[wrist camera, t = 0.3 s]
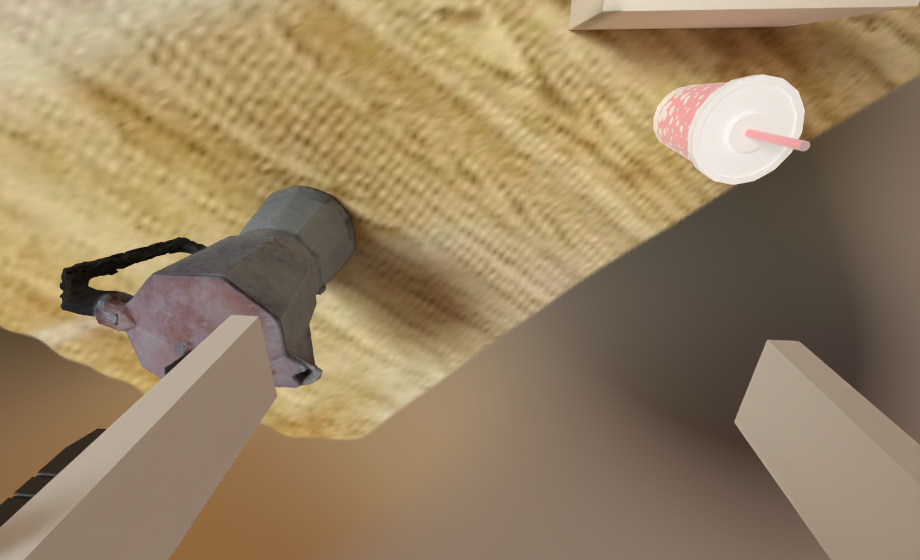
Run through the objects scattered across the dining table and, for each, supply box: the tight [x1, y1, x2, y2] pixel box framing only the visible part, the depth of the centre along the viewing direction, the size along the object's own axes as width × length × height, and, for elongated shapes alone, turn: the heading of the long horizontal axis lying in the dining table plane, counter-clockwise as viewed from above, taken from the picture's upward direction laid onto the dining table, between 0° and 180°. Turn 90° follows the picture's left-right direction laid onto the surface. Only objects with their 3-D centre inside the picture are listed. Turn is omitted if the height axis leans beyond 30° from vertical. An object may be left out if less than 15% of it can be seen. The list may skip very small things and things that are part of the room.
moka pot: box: [60, 186, 355, 388], centre depth 30 cm, size 10×15×20 cm, turn 70°
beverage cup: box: [654, 75, 810, 185], centre depth 26 cm, size 6×6×14 cm
